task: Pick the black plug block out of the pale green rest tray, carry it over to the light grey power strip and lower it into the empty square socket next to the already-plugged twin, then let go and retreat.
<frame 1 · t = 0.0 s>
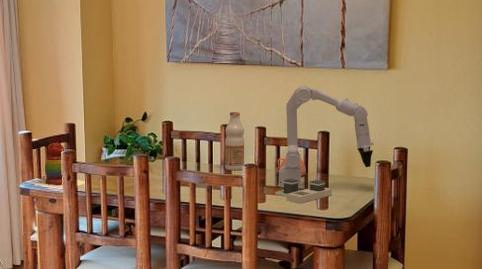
hand: (367, 165, 297), 11 cm above the table, fingers open, 7 cm apart
twin plug: (317, 195, 283), resting on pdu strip
stacking bear: (56, 182, 307), on the table
plug: (290, 194, 285), point 1 cm above the table, touching tray
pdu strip: (309, 199, 279), on the table
fruit juice: (234, 169, 342), on the table
sugar bowl: (290, 176, 326), on the table
tray: (290, 195, 285), on the table
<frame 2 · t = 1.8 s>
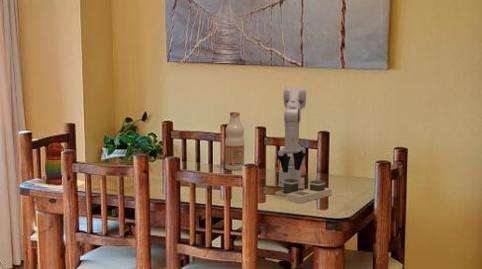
hand: (291, 171, 283), 10 cm above the table, fingers open, 7 cm apart
nothing on the table moved.
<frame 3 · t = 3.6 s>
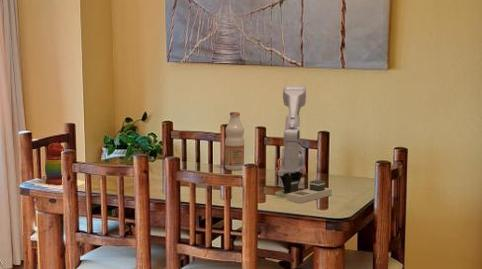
hand: (290, 190, 284), 2 cm above the table, fingers closed on plug, 4 cm apart
plug: (290, 194, 285), point 1 cm above the table, touching gripper, tray
everything else where it was.
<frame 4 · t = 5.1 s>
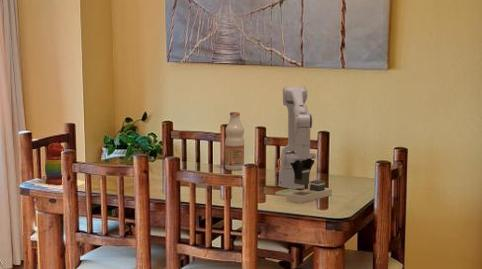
hand: (302, 178, 274), 9 cm above the table, fingers closed on plug, 4 cm apart
plug: (301, 183, 275), point 7 cm above the table, touching gripper
everything else where it was.
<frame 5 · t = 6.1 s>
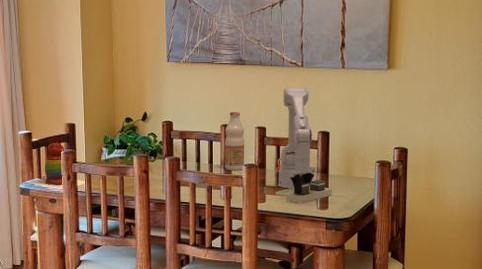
hand: (301, 192, 275), 4 cm above the table, fingers closed on plug, 4 cm apart
plug: (301, 197, 275), point 2 cm above the table, touching gripper
everything else where it was.
when the fingers open (4 cm above the table, at t = 6.7 s): plug stays where it is, resting on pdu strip.
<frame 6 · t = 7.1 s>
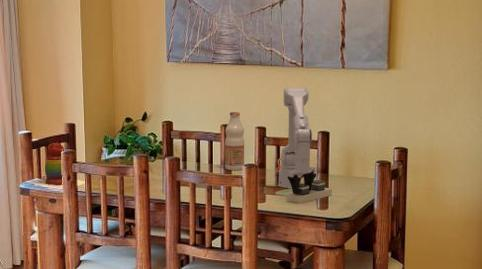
hand: (301, 192, 275), 4 cm above the table, fingers open, 7 cm apart
plug: (301, 199, 276), point 1 cm above the table, touching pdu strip
everything else where it was.
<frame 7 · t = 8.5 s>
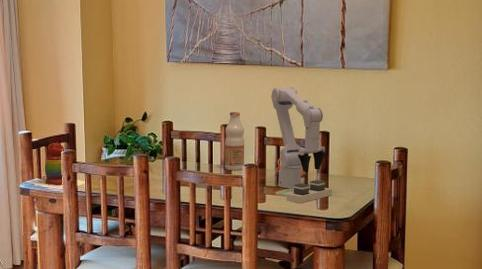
hand: (311, 170, 286), 10 cm above the table, fingers open, 7 cm apart
nothing on the table moved.
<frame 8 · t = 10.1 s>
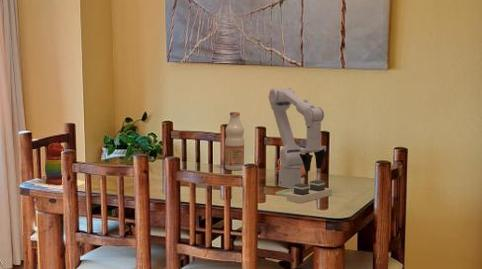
hand: (313, 169, 286), 10 cm above the table, fingers open, 7 cm apart
nothing on the table moved.
at the end: plug 0.2 cm from the target spot on the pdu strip, point 0.6 cm above the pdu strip's base; plug tilted 0°; the gripper is holding nothing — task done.
